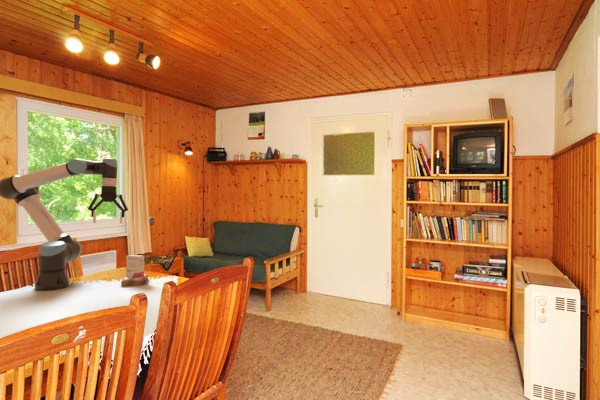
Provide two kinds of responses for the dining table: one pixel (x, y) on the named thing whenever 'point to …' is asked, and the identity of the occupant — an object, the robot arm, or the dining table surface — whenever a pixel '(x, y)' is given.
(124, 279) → the plinth
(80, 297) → the dining table surface
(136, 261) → the ink box
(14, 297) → the dining table surface
